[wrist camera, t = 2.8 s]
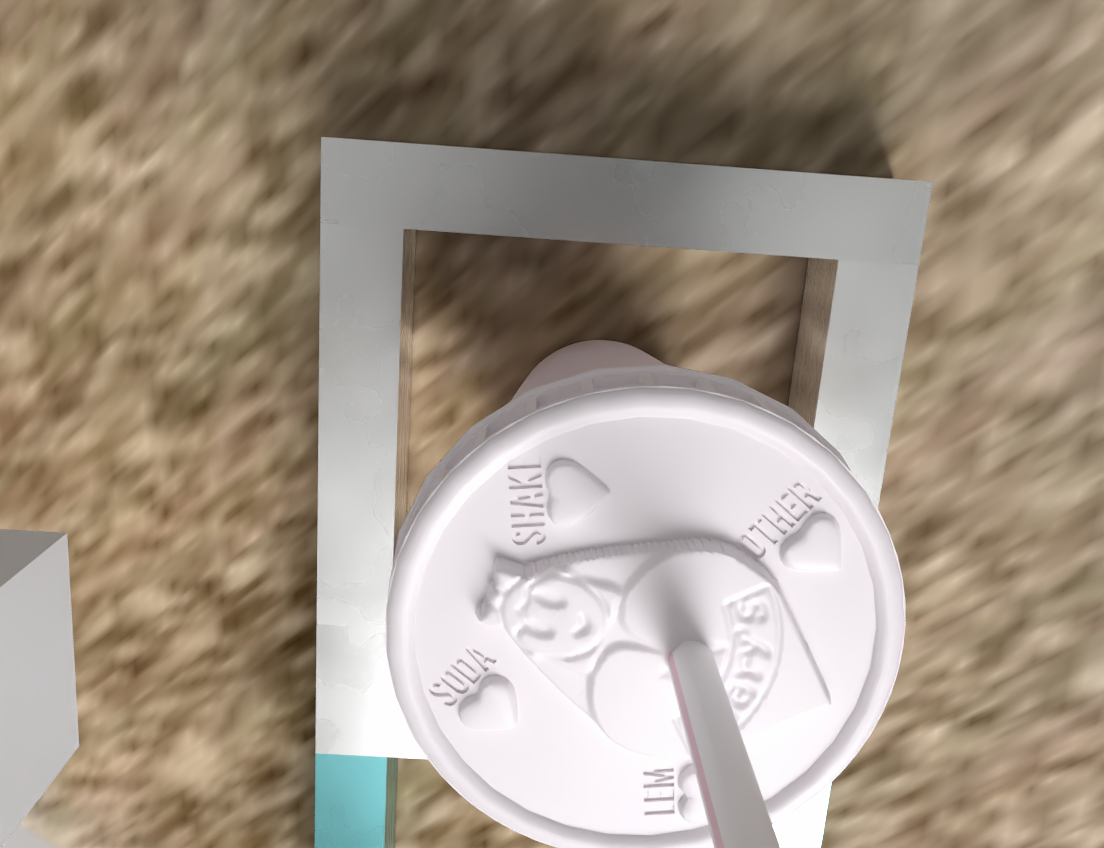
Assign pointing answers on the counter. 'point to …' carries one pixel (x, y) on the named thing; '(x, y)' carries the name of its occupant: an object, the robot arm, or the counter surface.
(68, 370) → the counter surface
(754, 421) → the smoothie
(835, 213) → the rail
